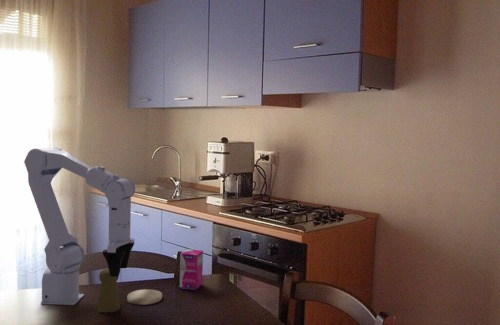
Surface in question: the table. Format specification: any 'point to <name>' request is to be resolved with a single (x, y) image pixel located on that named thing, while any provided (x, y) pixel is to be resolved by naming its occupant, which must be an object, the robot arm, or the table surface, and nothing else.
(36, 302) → the table surface
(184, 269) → the supplement box
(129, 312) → the table surface
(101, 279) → the cork
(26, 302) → the table surface
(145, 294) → the coaster
